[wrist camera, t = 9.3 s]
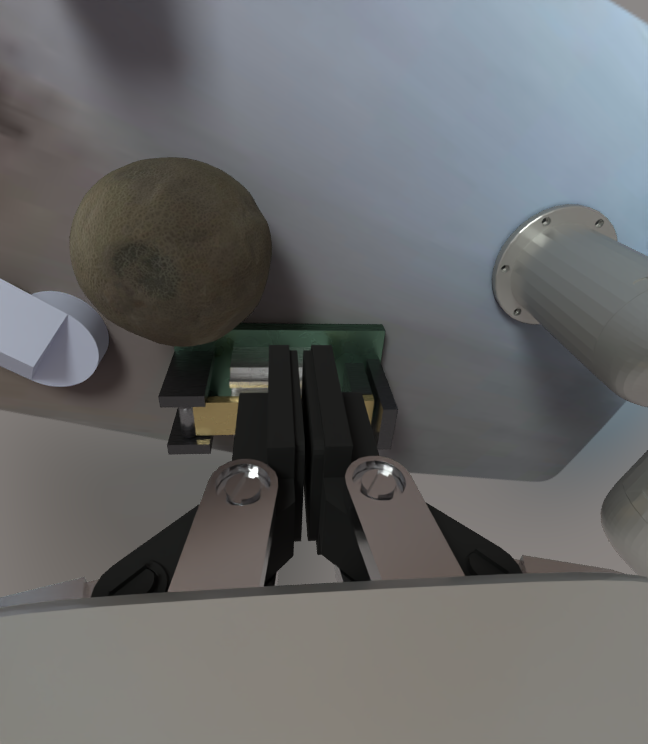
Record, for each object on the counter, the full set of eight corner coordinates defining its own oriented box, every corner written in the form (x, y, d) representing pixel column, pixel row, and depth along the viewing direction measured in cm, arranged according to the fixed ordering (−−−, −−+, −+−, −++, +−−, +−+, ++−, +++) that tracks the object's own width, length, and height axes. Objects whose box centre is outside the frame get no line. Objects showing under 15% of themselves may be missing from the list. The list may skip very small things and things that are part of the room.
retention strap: (371, 392, 45) (374, 402, 44) (367, 423, 47) (370, 433, 46) (178, 395, 43) (175, 405, 42) (183, 427, 45) (180, 437, 44)
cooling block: (382, 324, 49) (405, 378, 40) (370, 411, 56) (387, 473, 47) (174, 322, 47) (151, 379, 38) (187, 413, 53) (170, 480, 45)
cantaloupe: (194, 101, 36) (153, 116, 24) (301, 240, 43) (312, 307, 31) (78, 210, 40) (-10, 272, 28) (194, 322, 47) (165, 412, 35)
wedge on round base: (-44, 320, 45) (87, 382, 50) (-89, 355, 39) (63, 421, 44) (-13, 248, 41) (124, 323, 46) (-58, 275, 36) (103, 357, 41)
